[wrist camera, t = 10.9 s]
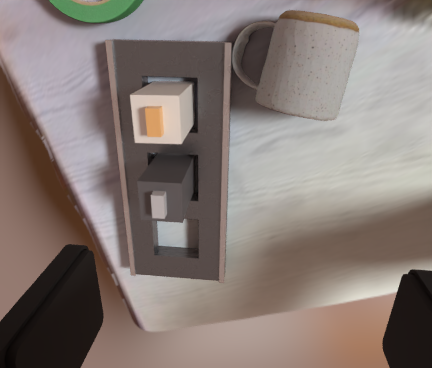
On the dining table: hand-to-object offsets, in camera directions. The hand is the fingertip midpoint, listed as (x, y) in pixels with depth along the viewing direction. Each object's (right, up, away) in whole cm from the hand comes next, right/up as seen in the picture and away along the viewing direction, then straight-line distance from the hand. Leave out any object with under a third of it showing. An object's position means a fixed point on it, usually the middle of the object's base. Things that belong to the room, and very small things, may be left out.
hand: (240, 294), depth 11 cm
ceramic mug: (+6, +15, +24) cm, 29 cm away
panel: (-5, +5, +30) cm, 30 cm away
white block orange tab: (-5, +12, +26) cm, 29 cm away
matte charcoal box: (-5, +5, +30) cm, 30 cm away
